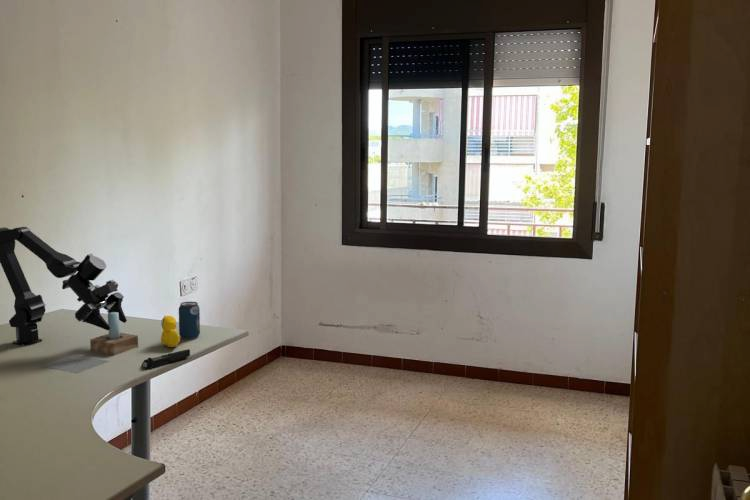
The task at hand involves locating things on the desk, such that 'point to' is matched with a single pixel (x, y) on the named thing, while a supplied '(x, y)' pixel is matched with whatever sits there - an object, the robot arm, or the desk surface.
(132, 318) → the desk surface
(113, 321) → the peg
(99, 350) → the hole block
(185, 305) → the soda can
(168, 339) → the duckling
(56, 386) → the desk surface
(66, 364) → the mat
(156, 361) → the electric trimmer
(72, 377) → the desk surface
